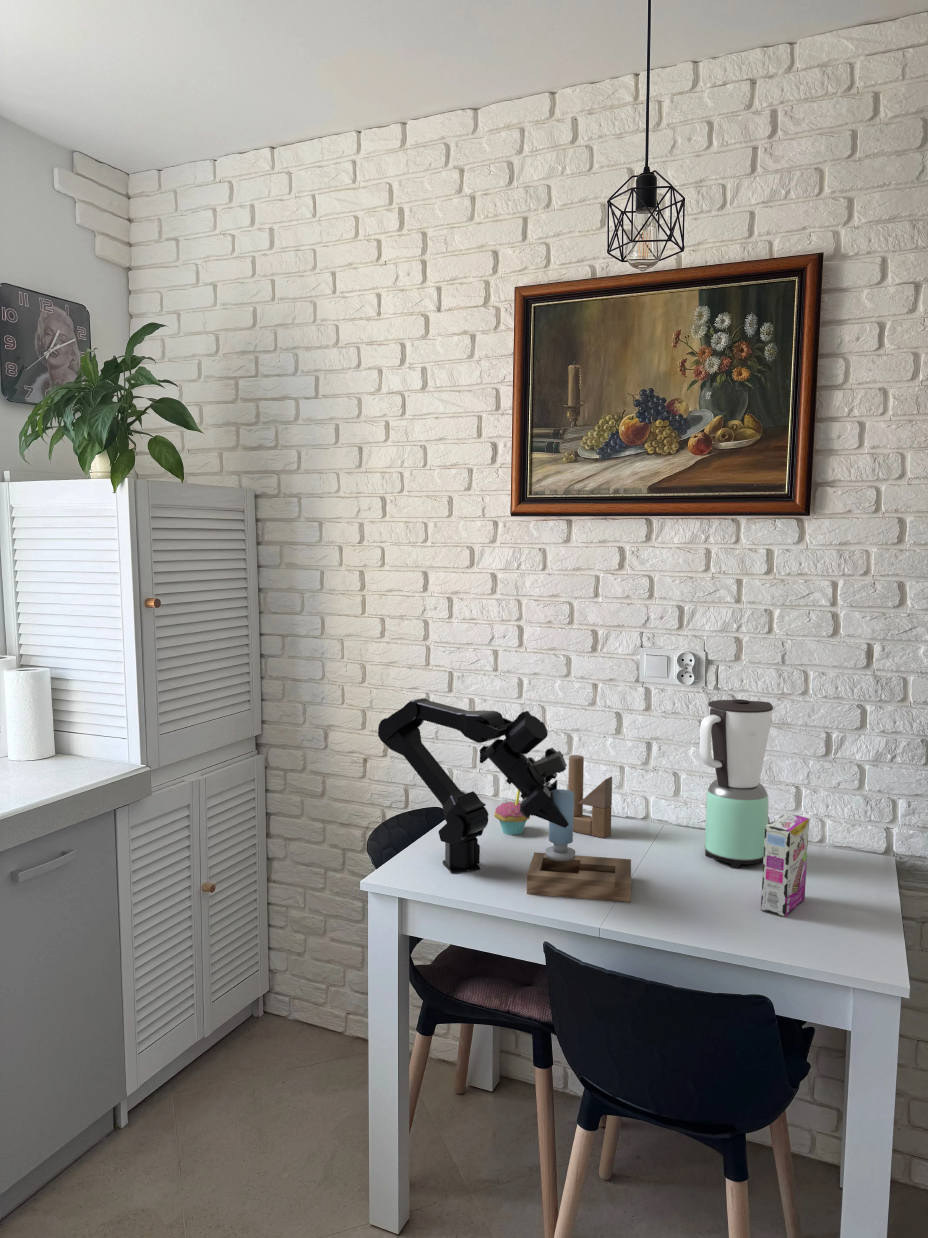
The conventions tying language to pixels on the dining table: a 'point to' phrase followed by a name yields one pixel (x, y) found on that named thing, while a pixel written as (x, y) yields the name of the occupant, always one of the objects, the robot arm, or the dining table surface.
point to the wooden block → (590, 802)
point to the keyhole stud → (562, 828)
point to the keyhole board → (576, 889)
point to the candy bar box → (784, 864)
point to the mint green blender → (736, 780)
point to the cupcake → (511, 817)
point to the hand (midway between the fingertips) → (568, 822)
